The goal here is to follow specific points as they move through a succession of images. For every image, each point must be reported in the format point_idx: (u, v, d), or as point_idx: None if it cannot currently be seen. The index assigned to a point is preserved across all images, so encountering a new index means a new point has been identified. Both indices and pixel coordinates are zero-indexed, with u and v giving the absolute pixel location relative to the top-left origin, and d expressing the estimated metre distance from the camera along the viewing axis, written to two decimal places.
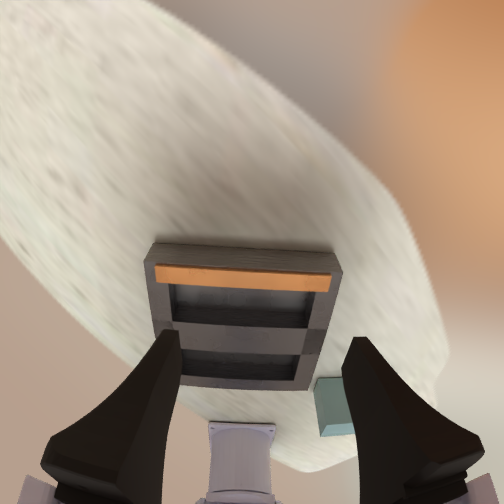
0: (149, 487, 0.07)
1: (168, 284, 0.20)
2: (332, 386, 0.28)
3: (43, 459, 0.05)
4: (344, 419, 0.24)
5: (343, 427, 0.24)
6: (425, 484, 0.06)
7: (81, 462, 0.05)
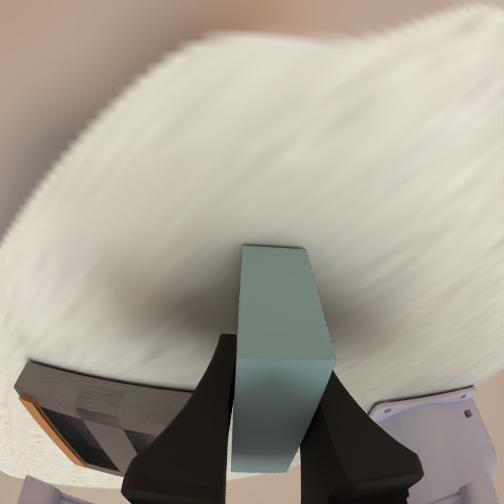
0: None
1: (88, 462, 0.20)
2: None
3: (128, 485, 0.05)
4: None
5: (251, 458, 0.10)
6: (354, 501, 0.06)
7: (178, 483, 0.05)
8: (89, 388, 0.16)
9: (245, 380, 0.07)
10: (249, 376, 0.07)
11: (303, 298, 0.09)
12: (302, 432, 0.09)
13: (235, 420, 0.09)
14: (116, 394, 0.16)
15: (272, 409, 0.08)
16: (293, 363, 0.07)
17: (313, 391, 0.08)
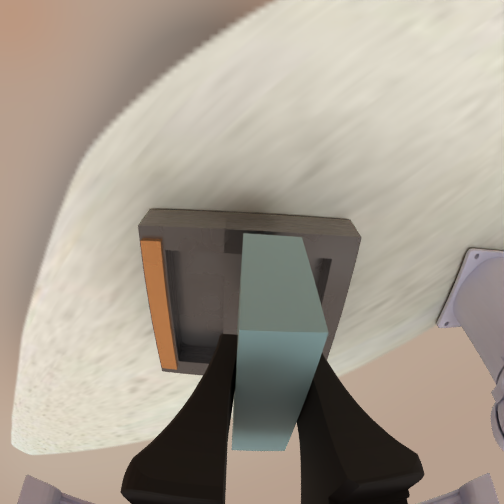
0: (224, 496, 0.07)
1: (182, 360, 0.23)
2: None
3: (128, 485, 0.05)
4: None
5: (251, 434, 0.11)
6: (354, 501, 0.06)
7: (178, 483, 0.05)
8: (236, 218, 0.18)
9: (246, 351, 0.09)
10: (250, 347, 0.08)
11: (299, 279, 0.10)
12: (299, 406, 0.10)
13: (237, 393, 0.10)
14: (267, 219, 0.18)
15: (270, 381, 0.09)
16: (289, 334, 0.08)
17: (308, 363, 0.09)
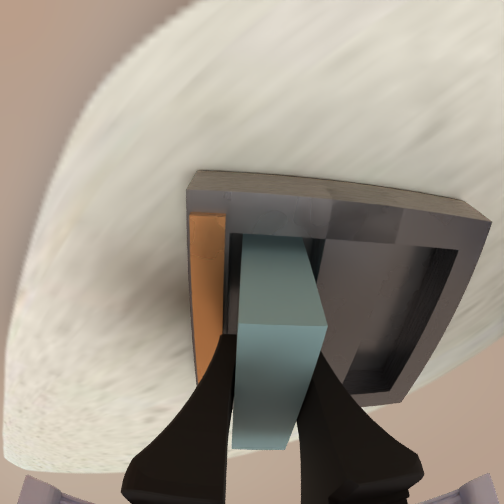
0: None
1: None
2: None
3: (128, 485, 0.05)
4: None
5: (251, 432, 0.11)
6: (354, 501, 0.06)
7: (178, 483, 0.05)
8: (337, 186, 0.12)
9: (245, 345, 0.09)
10: (249, 341, 0.08)
11: (298, 275, 0.10)
12: (299, 403, 0.10)
13: (236, 389, 0.10)
14: (380, 192, 0.12)
15: (270, 377, 0.09)
16: (288, 328, 0.08)
17: (307, 358, 0.09)
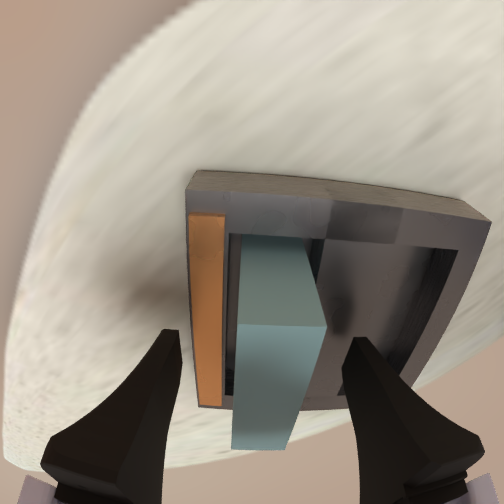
0: (149, 487, 0.07)
1: (229, 394, 0.16)
2: None
3: (43, 459, 0.05)
4: None
5: (250, 433, 0.11)
6: (425, 484, 0.06)
7: (81, 462, 0.05)
8: (337, 187, 0.12)
9: (245, 346, 0.09)
10: (248, 341, 0.08)
11: (297, 275, 0.10)
12: (298, 404, 0.10)
13: (235, 389, 0.10)
14: (379, 192, 0.12)
15: (269, 377, 0.09)
16: (288, 329, 0.08)
17: (307, 358, 0.09)
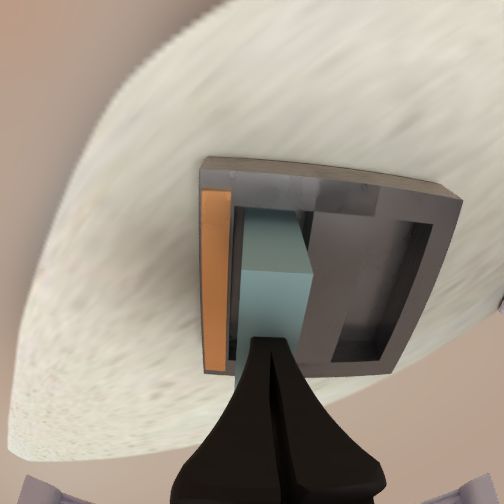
0: None
1: (232, 359, 0.18)
2: None
3: (181, 494, 0.05)
4: None
5: None
6: None
7: (235, 488, 0.05)
8: (324, 169, 0.14)
9: (247, 290, 0.11)
10: (250, 286, 0.11)
11: (290, 239, 0.13)
12: (293, 352, 0.12)
13: (239, 335, 0.12)
14: (361, 174, 0.14)
15: (267, 322, 0.12)
16: (281, 275, 0.10)
17: (298, 304, 0.11)
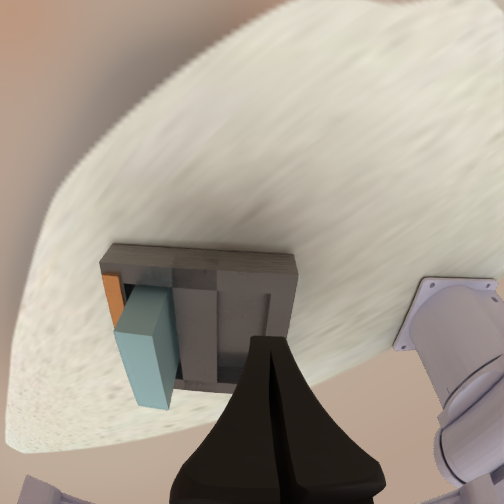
0: None
1: None
2: None
3: (180, 494, 0.05)
4: None
5: (143, 394, 0.20)
6: None
7: (234, 488, 0.05)
8: (184, 255, 0.20)
9: (120, 341, 0.17)
10: (120, 340, 0.17)
11: (153, 308, 0.19)
12: (159, 377, 0.18)
13: (124, 364, 0.18)
14: (212, 257, 0.20)
15: (137, 359, 0.18)
16: (135, 335, 0.17)
17: (150, 351, 0.17)
